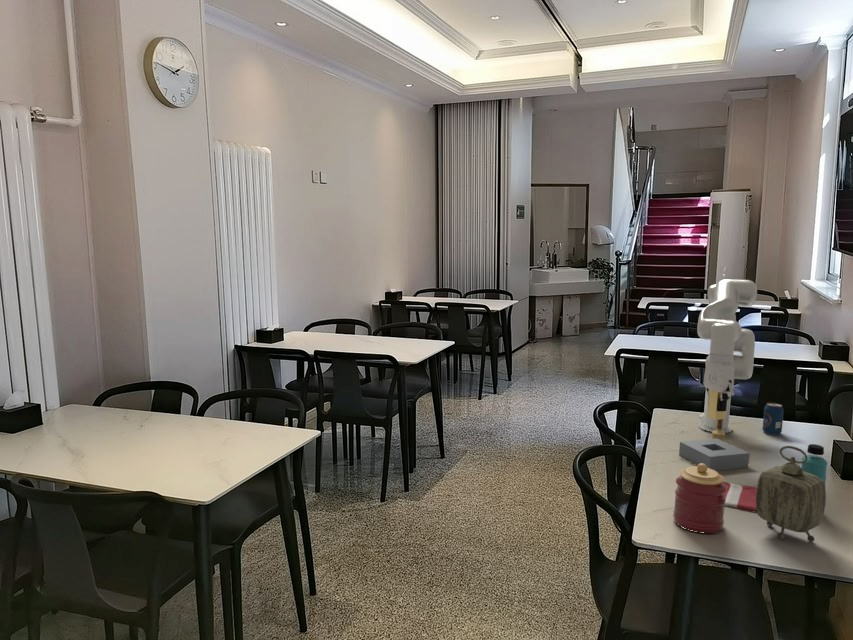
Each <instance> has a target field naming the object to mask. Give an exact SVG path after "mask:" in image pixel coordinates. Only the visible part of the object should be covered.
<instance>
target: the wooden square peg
mask: <svg viewBox="0 0 853 640" xmlns="http://www.w3.org/2000/svg"><path fill="white" fill-rule="evenodd" d="M724 395H725V393H723V396H724ZM718 400H720V395H719V392H717V391H714V390H711V389H710V393H709V405H708V417H710V418H712V419H715V420H720V419H725V414H726V411H721V412H719V411H718Z"/></svg>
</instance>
